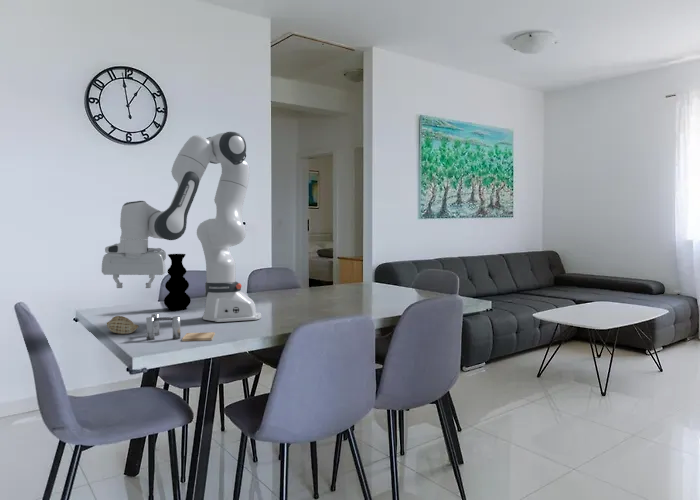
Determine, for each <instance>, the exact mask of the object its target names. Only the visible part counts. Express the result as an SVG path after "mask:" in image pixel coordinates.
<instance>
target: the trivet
mask: <svg viewBox="0 0 700 500" xmlns="http://www.w3.org/2000/svg"><path fill="white" fill-rule="evenodd" d="M215 335H216V332H212V331H211V332H208V331H207V332H187V333H185V335H184V336H183V337H181V338H182V339H181V341H182V342H198V341H199V342H200V341H213V338H214V337H215Z"/></svg>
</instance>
